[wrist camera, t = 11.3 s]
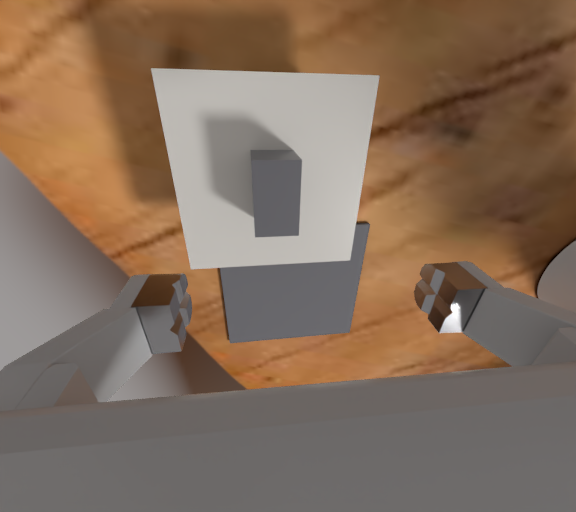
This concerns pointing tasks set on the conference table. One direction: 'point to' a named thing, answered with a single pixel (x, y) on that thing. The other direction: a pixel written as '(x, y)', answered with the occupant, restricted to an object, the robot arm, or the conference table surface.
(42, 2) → the conference table surface
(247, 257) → the lid
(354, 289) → the mat
